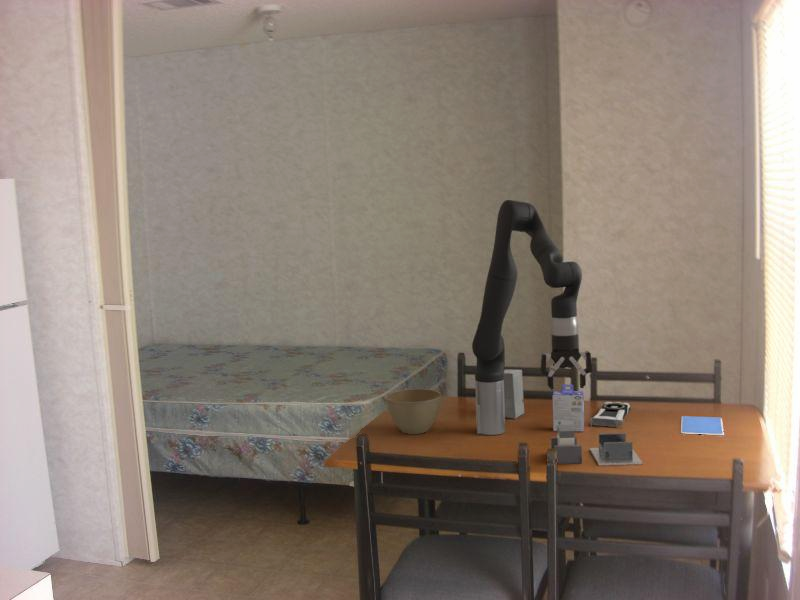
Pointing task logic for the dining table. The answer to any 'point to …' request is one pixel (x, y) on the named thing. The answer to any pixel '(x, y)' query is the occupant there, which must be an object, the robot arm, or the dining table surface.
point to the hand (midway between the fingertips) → (566, 388)
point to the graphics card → (611, 414)
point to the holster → (567, 452)
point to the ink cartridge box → (568, 408)
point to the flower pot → (414, 409)
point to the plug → (565, 435)
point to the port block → (615, 450)
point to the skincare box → (513, 393)
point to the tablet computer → (701, 425)
